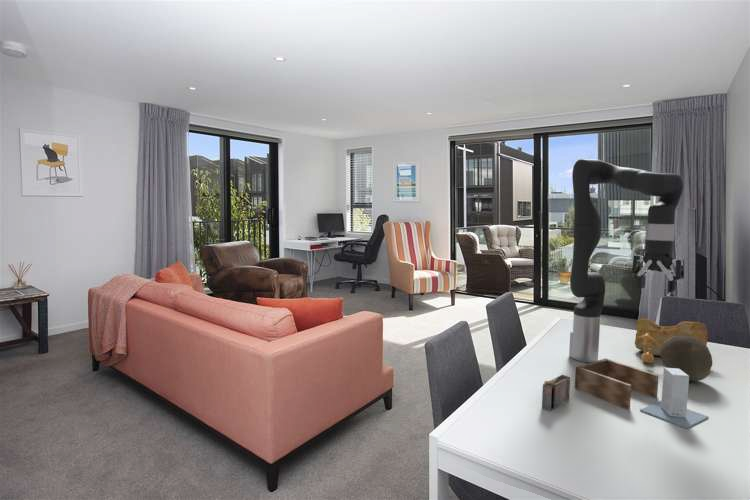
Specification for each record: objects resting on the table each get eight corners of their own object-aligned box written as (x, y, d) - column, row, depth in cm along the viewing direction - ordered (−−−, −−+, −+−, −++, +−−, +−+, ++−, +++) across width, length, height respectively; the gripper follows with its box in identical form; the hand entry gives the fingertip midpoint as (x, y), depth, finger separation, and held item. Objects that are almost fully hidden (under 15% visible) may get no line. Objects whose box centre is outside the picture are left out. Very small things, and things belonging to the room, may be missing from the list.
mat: (640, 410, 128) (640, 409, 128) (662, 401, 134) (662, 400, 134) (686, 428, 117) (686, 427, 117) (708, 417, 124) (708, 416, 123)
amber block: (708, 357, 175) (709, 319, 175) (706, 365, 162) (707, 324, 162) (640, 347, 190) (641, 312, 189) (633, 354, 177) (634, 316, 177)
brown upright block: (551, 413, 127) (553, 380, 126) (541, 409, 129) (543, 377, 128) (570, 402, 134) (572, 370, 133) (560, 398, 137) (562, 367, 136)
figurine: (661, 364, 165) (663, 333, 163) (656, 368, 161) (658, 336, 159) (636, 358, 171) (638, 328, 169) (631, 362, 167) (633, 331, 165)
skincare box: (686, 418, 122) (690, 376, 121) (669, 416, 123) (672, 374, 122) (676, 408, 128) (679, 368, 127) (660, 407, 129) (663, 367, 128)
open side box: (574, 388, 143) (575, 367, 143) (604, 378, 151) (605, 358, 151) (627, 409, 129) (629, 385, 128) (657, 396, 137) (658, 374, 136)
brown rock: (689, 371, 158) (692, 330, 156) (721, 388, 144) (725, 343, 142) (650, 372, 157) (653, 330, 156) (678, 388, 143) (682, 343, 142)
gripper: (629, 237, 142) (626, 287, 144) (678, 240, 130) (674, 295, 132) (642, 236, 146) (639, 285, 148) (691, 239, 134) (687, 293, 135)
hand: (655, 290), depth 140 cm, fingers open, 8 cm apart
